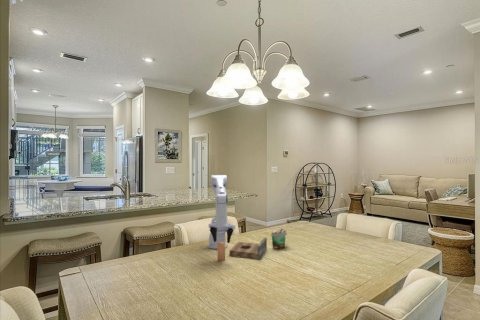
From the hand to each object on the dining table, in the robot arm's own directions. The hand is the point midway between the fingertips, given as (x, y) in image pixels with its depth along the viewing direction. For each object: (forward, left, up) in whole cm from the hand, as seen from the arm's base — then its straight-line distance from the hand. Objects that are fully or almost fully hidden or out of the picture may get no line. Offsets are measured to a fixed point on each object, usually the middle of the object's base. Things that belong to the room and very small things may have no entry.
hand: (221, 242), depth 140 cm
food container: (+27, +29, -10) cm, 41 cm away
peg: (0, 0, -10) cm, 10 cm away
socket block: (+10, +15, -10) cm, 21 cm away
